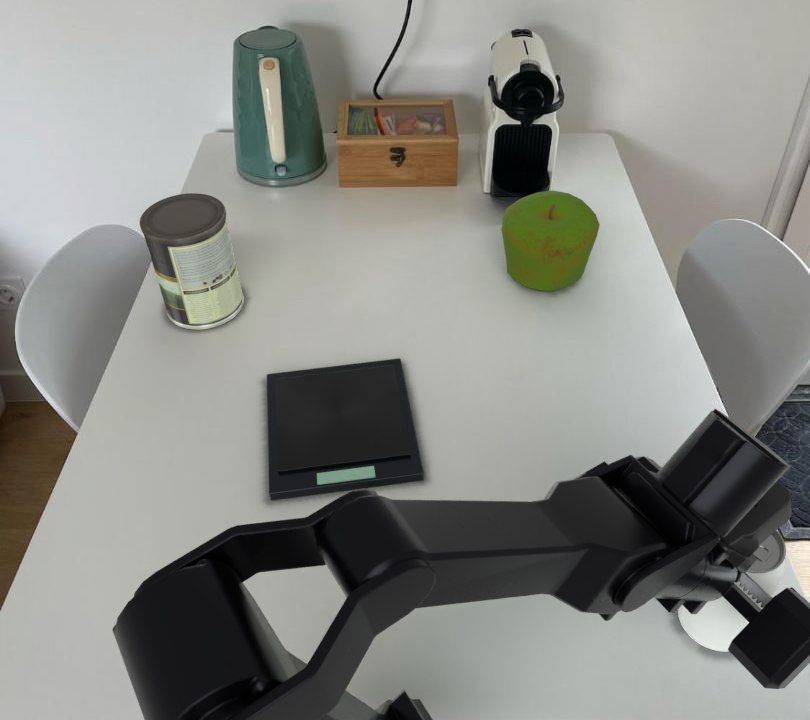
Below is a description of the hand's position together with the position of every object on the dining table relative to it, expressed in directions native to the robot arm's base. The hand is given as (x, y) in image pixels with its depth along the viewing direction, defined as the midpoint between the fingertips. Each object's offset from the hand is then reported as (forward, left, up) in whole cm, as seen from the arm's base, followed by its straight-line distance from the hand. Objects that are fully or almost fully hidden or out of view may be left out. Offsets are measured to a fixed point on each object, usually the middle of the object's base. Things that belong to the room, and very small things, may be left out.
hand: (739, 570), depth 67 cm
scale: (+21, +37, -7) cm, 43 cm away
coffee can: (+42, +58, -7) cm, 72 cm away
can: (0, +1, -7) cm, 8 cm away
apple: (+50, +13, -8) cm, 52 cm away
